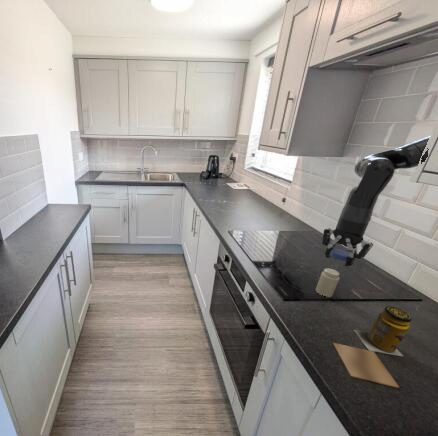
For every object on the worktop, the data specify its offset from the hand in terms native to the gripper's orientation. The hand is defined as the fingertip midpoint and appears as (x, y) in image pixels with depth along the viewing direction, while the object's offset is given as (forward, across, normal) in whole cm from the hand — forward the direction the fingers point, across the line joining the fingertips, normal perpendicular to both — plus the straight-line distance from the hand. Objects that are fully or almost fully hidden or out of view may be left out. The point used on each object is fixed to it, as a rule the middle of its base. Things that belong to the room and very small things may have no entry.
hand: (337, 261), depth 83 cm
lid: (-3, 0, 0) cm, 3 cm away
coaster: (+14, +21, -22) cm, 34 cm away
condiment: (+14, +20, -10) cm, 26 cm away
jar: (+14, 0, 0) cm, 14 cm away
